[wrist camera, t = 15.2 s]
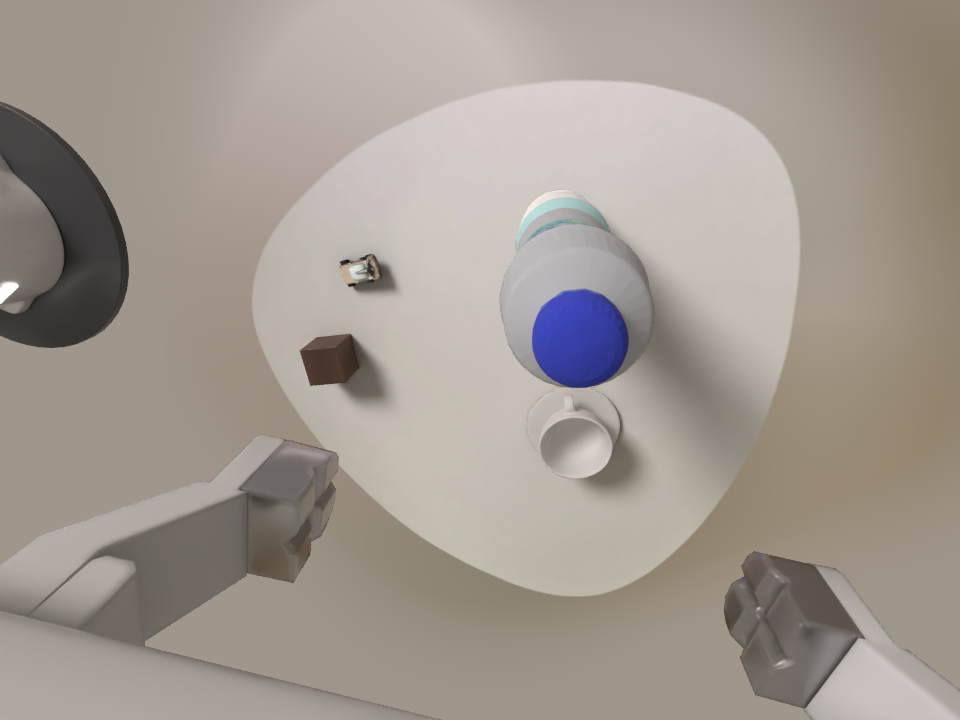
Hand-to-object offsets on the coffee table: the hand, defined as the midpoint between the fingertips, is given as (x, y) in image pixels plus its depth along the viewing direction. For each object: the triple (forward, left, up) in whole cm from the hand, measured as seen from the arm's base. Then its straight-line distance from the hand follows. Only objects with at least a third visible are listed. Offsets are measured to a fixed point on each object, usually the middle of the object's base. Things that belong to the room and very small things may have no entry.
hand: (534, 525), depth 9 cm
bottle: (+1, +1, -28) cm, 28 cm away
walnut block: (-18, -17, -40) cm, 47 cm away
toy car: (-16, -7, -40) cm, 44 cm away
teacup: (+9, -19, -40) cm, 45 cm away
